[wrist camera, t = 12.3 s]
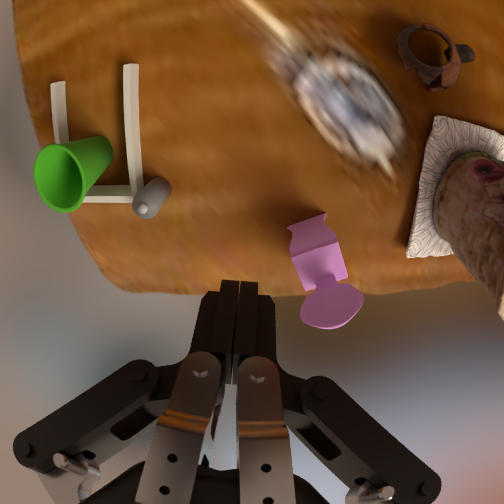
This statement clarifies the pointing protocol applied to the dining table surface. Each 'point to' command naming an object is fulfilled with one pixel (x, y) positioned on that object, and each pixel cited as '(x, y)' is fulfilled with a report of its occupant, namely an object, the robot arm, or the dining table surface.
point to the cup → (70, 171)
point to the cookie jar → (463, 202)
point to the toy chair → (322, 275)
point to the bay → (141, 197)
